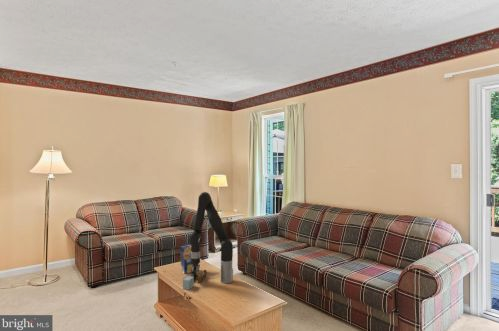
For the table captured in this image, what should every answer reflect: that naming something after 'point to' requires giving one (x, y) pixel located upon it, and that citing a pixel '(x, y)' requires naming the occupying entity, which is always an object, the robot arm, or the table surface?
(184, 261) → the beverage box
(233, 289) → the table surface
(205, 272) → the rack
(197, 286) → the table surface
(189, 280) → the block
